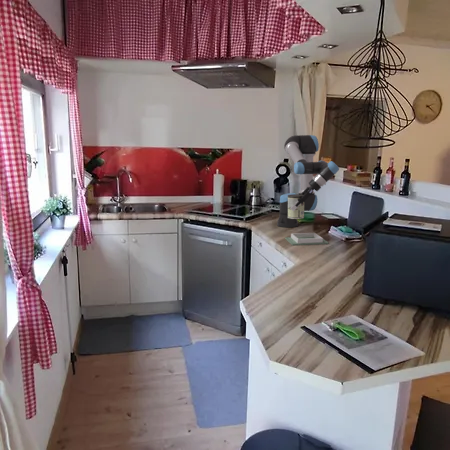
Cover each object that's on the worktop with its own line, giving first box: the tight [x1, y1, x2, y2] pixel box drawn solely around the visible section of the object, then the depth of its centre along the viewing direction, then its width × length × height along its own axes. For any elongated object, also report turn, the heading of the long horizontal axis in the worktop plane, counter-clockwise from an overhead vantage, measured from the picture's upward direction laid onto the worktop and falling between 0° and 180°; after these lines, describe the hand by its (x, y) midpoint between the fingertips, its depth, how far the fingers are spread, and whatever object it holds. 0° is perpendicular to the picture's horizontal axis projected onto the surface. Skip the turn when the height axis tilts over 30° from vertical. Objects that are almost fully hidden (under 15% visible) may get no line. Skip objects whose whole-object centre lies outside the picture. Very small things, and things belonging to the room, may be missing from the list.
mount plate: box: [284, 232, 329, 246], centre depth 250 cm, size 17×22×4 cm
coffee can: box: [288, 193, 305, 220], centre depth 252 cm, size 10×10×14 cm
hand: (291, 208), depth 253 cm, fingers closed on coffee can, 10 cm apart
